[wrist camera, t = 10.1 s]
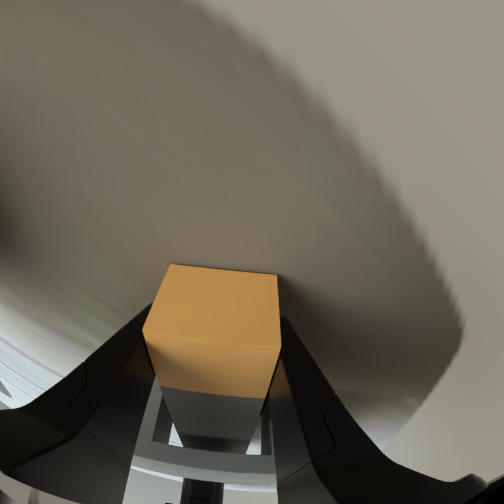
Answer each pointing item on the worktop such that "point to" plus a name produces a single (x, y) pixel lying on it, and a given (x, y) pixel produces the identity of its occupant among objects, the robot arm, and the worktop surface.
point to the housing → (200, 451)
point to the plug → (214, 352)
